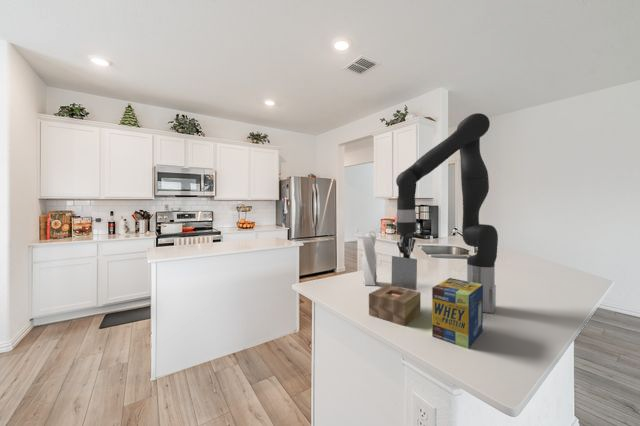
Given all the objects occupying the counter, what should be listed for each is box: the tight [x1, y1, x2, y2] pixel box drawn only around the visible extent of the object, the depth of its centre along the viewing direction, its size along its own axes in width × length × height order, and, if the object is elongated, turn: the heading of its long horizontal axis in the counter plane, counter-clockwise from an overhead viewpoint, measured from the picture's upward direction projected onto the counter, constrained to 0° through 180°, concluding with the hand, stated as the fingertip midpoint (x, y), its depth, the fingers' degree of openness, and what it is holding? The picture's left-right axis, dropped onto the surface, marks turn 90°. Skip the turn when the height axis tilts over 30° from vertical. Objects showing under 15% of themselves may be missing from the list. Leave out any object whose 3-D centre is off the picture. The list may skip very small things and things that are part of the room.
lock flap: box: [390, 255, 418, 292], centre depth 104 cm, size 12×10×1 cm
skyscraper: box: [361, 231, 380, 287], centre depth 136 cm, size 8×8×28 cm
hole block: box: [368, 285, 422, 327], centre depth 98 cm, size 14×14×8 cm
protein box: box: [431, 277, 484, 349], centre depth 82 cm, size 10×15×16 cm
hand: (406, 263), depth 106 cm, fingers closed
